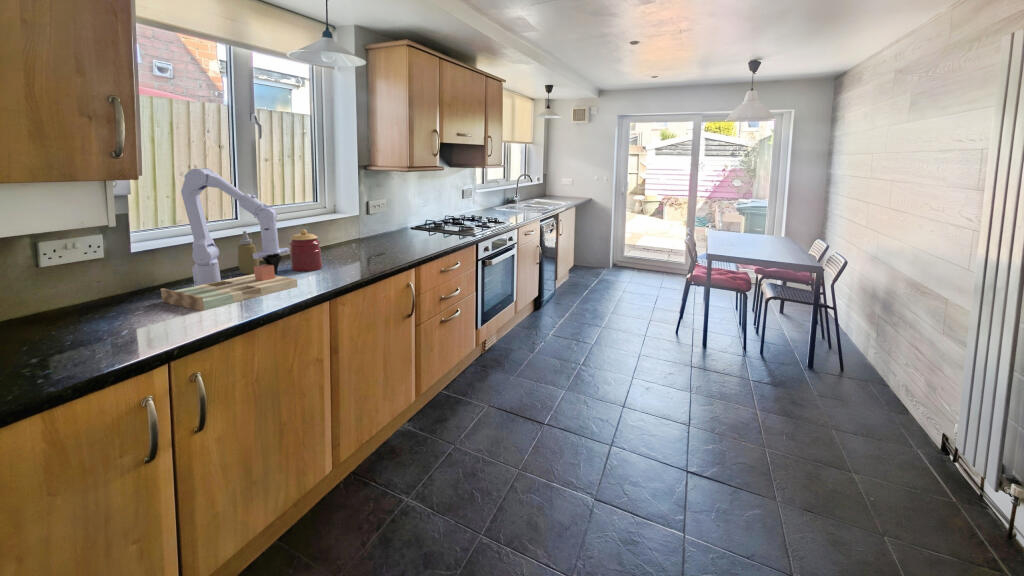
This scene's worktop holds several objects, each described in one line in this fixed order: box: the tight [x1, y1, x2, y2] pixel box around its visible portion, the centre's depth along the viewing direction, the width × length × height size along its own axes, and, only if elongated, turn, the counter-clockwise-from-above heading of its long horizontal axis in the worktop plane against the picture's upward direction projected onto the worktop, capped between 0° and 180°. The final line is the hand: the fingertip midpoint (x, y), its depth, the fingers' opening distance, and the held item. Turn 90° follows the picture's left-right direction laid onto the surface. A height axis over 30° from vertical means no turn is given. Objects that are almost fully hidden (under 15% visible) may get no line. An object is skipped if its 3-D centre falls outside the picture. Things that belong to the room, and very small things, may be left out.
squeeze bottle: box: [237, 230, 260, 275], centre depth 211 cm, size 8×8×18 cm
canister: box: [288, 229, 323, 273], centre depth 220 cm, size 13×13×18 cm
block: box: [254, 263, 276, 281], centre depth 190 cm, size 5×5×5 cm
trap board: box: [160, 273, 299, 312], centre depth 180 cm, size 22×37×4 cm, turn 152°
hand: (273, 273), depth 194 cm, fingers closed
